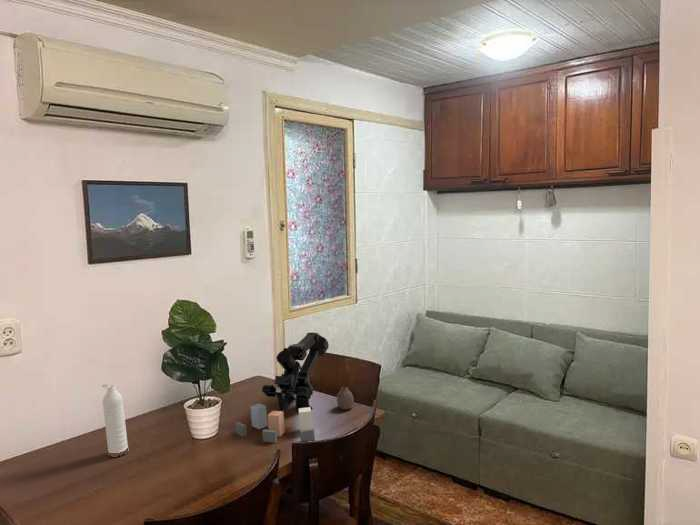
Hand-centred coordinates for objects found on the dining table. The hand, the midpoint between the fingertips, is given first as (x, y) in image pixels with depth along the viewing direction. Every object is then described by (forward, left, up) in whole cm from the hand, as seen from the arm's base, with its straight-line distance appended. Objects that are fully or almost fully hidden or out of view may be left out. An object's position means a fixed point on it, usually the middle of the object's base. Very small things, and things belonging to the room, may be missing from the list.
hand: (281, 413), depth 201 cm
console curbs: (+5, -5, -6) cm, 9 cm away
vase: (-4, +29, -7) cm, 30 cm away
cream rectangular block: (+7, +7, -6) cm, 12 cm away
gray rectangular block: (-7, -7, -6) cm, 11 cm away
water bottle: (-15, -57, -7) cm, 59 cm away
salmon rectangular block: (+3, -3, -6) cm, 8 cm away
